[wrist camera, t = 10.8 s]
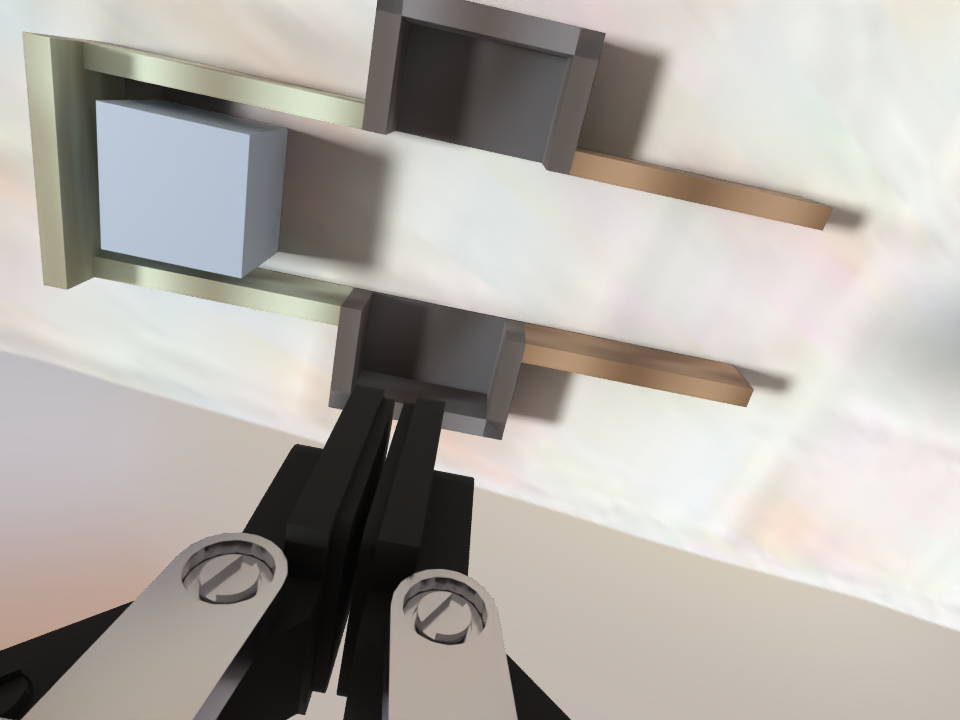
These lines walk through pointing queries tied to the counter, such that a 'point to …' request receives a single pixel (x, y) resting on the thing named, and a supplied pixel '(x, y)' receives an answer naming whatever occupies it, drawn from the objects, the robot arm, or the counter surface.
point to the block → (189, 185)
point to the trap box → (387, 108)
